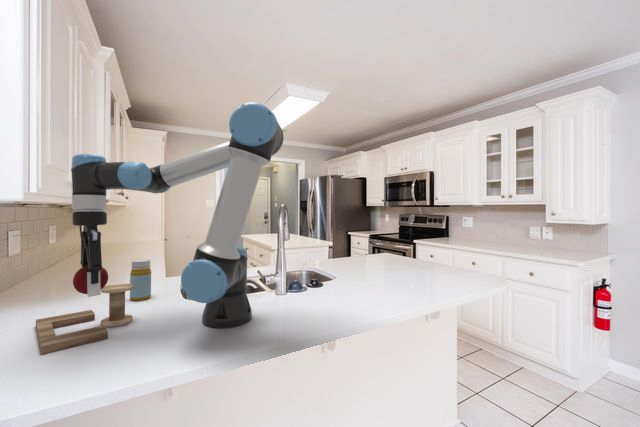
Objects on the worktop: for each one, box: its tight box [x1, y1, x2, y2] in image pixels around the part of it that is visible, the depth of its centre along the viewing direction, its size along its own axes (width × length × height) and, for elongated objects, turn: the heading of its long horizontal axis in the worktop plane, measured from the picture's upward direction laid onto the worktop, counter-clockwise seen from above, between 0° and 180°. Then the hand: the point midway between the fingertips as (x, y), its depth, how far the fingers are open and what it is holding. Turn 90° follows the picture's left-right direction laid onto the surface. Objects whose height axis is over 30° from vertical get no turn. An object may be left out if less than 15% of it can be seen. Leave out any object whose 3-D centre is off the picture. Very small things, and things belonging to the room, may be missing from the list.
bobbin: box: [100, 282, 133, 328], centre depth 90 cm, size 8×8×11 cm
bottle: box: [129, 258, 152, 302], centre depth 114 cm, size 7×7×15 cm
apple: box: [72, 265, 109, 295], centre depth 81 cm, size 8×8×8 cm
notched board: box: [35, 309, 109, 355], centre depth 82 cm, size 24×13×2 cm, turn 46°
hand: (91, 292), depth 81 cm, fingers closed on apple, 8 cm apart
